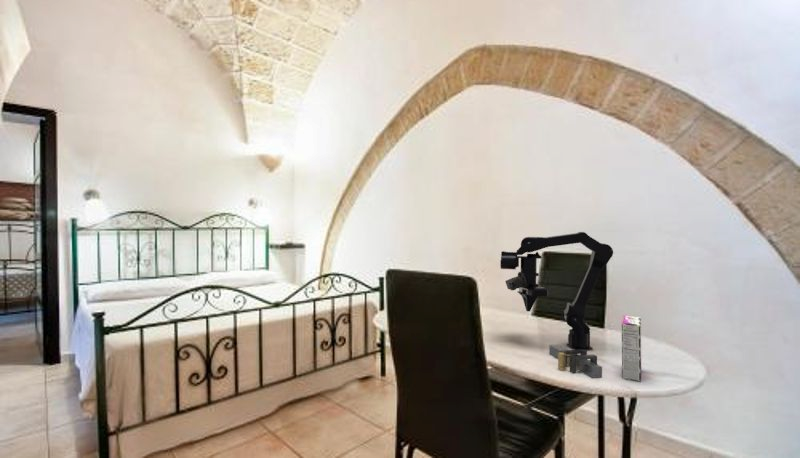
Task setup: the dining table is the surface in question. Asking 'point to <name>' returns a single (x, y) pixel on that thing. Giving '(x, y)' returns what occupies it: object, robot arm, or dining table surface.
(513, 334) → the dining table surface
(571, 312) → the robot arm
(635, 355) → the candy bar box
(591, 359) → the dark grey arch
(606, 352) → the dining table surface
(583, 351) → the grey arch block
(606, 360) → the dining table surface
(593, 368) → the long grey bar
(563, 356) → the sight post
